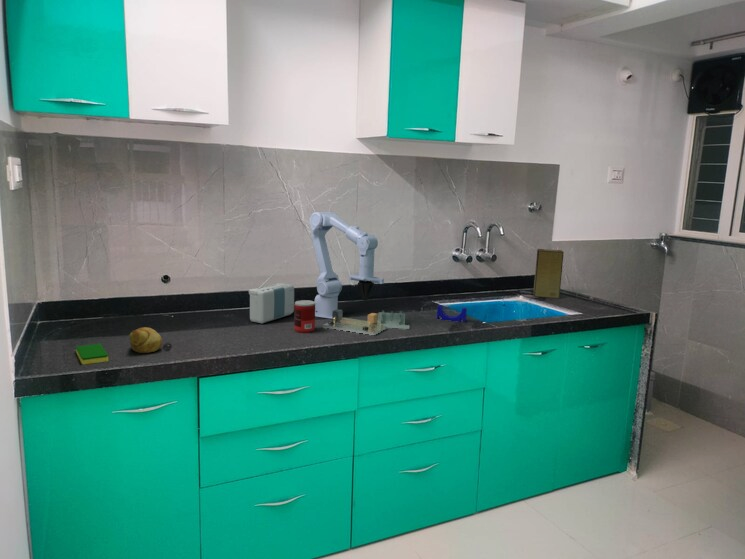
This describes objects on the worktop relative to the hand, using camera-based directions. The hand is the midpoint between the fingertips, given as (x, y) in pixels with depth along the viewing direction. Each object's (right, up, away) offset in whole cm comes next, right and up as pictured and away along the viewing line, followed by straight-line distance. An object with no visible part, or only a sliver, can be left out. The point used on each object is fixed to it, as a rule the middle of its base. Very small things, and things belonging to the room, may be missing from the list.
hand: (365, 299), depth 222 cm
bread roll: (-71, -15, -40) cm, 83 cm away
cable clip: (+37, -10, +16) cm, 41 cm away
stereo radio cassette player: (-39, -8, +6) cm, 40 cm away
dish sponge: (-84, -17, -50) cm, 99 cm away
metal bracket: (+10, -11, +4) cm, 16 cm away
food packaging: (+97, -1, +78) cm, 124 cm away
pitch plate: (-4, -11, -4) cm, 13 cm away
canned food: (-23, -12, -10) cm, 28 cm away
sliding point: (+3, -10, -5) cm, 11 cm away
